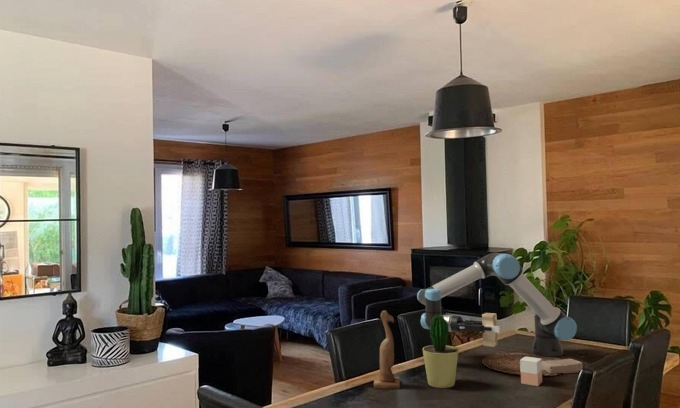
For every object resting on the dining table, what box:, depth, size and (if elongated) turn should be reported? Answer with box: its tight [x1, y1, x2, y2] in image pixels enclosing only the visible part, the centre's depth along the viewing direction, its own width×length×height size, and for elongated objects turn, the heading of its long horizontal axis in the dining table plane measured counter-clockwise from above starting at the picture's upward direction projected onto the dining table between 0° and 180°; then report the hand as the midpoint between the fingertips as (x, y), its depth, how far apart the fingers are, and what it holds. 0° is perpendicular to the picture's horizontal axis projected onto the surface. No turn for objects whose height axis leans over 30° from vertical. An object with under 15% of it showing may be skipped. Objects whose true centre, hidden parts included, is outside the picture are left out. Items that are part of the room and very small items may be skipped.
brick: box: [542, 358, 584, 374], centre depth 238 cm, size 17×8×5 cm, turn 100°
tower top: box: [519, 356, 543, 374], centre depth 222 cm, size 7×7×5 cm
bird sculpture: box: [373, 310, 401, 390], centre depth 222 cm, size 11×12×32 cm
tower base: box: [520, 370, 543, 387], centre depth 221 cm, size 7×7×5 cm
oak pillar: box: [481, 312, 499, 348], centre depth 234 cm, size 5×5×14 cm
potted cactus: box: [422, 314, 460, 389], centre depth 222 cm, size 15×15×30 cm
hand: (501, 328), depth 231 cm, fingers closed on oak pillar, 5 cm apart
